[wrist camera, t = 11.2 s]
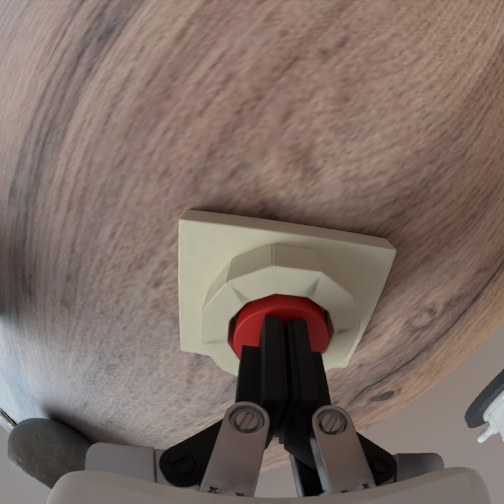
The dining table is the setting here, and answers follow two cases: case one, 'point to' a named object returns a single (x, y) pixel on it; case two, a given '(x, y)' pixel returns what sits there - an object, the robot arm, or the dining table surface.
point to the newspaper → (6, 419)
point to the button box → (274, 279)
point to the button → (285, 310)
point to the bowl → (46, 449)
